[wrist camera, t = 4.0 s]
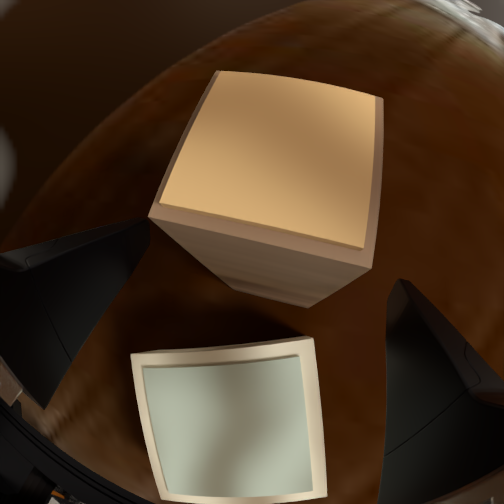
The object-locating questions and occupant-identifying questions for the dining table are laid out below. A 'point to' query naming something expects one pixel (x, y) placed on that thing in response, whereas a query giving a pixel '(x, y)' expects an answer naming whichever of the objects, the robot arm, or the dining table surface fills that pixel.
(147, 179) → the dining table surface
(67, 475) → the robot arm
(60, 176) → the dining table surface
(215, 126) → the tan wooden block
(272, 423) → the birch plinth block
